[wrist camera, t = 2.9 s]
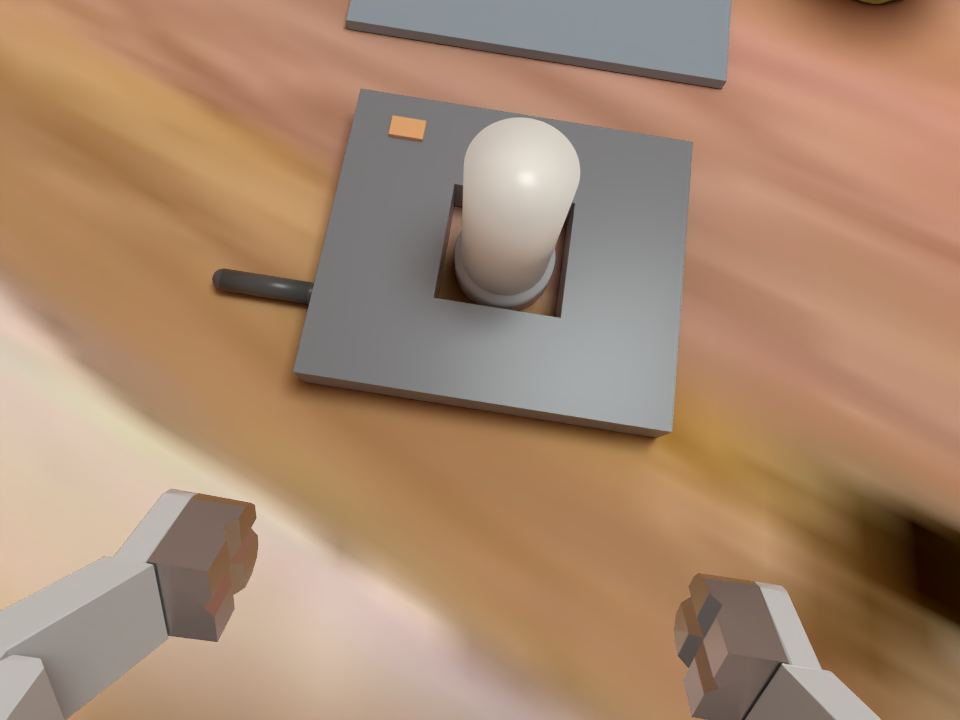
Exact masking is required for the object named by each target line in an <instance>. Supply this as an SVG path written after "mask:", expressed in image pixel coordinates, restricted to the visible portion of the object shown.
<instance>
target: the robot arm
mask: <svg viewBox="0 0 960 720" xmlns="http://www.w3.org/2000/svg"><path fill="white" fill-rule="evenodd" d="M255 520H256V511H255V505H254V504H252V503H248V502H243V501H238V500H232V499H227V498H221V497H216V496H211V495H205V494H200V493H198V494H197V493H192V492H186V491H181V490H175V489H170V490H168V491H166V492H165V493H163V494H162V495H161V496H160V498H159V499H158V500H157V502H156V503H155V504H154V505H153V507H152V508H151V509H150V511H149V512H148V513H147V514H146V516H145V517H144V518H143V520H142V521H141V522H140V523H139V525H138V526H137V527H136V529H135V530H134V531H133V532H132V534H131V535H130V536H129V538H128V539H127V540H126V541H125V543H124V544H123V545H122V547H121V548H120V549H119V550H118V552H117V553H116V554H115V556H114V557H113V558H111V557H103V558H101V559H99V560H97V561H95V562H93V563H91V564H89V565H87V566H86V567H84V568H82V569H80V570H78V571H76V572H74V573H72V574H70V575H68V576H66V577H65V578H63V579H61V580H59V581H57V582H55V583H53V584H51V585H49V586H47V587H45V588H44V589H42V590H40V591H38V592H36V593H34V594H32V595H30V596H28V597H26V598H24V599H23V600H21V601H19V602H17V603H15V604H13V605H11V606H9V607H7V608H5V609H3V610H2V611H0V720H66V719H68V718H69V717H70V716H71V715H73V714H74V713H75V712H76V711H78V710H79V709H80V708H81V707H83V706H84V705H85V704H86V703H88V702H89V701H90V700H92V699H93V698H94V697H95V696H97V695H98V694H99V693H100V692H102V691H103V690H104V689H105V688H107V687H108V686H109V685H110V684H112V683H113V682H114V681H116V680H117V679H118V678H119V677H121V676H122V675H123V674H124V673H126V672H127V671H128V670H129V669H131V668H132V667H133V666H134V665H136V664H137V663H138V662H140V661H141V660H142V659H143V658H145V657H146V656H147V655H148V654H150V653H151V652H152V651H153V650H155V649H156V648H157V647H158V646H160V645H161V644H162V643H163V642H165V641H166V640H167V639H168V636H175V637H183V638H190V639H198V640H206V641H214V642H218V640H219V638H220V636H221V634H222V632H223V630H224V628H225V626H226V624H227V622H228V621H229V619H230V617H231V615H232V613H233V611H234V609H235V608H234V598H233V595H234V594H236V593H237V592H239V591H240V590H242V589H243V588H245V587H246V585H247V583H248V580H249V578H250V576H251V574H252V571H253V568H254V565H255V561H256V558H257V551H258V535H257V534H256V533H255V532H254V531H253V530H252V529H251V527H252V525H253V523H254V521H255ZM689 590H690V593H691V597H690V598H688V599H686V600H685V601H683V602H681V604H680V606H679V609H678V611H677V613H676V618H675V626H674V636H675V645H676V650H677V654H678V656H679V658H680V659H681V660H682V661H683V662H684V663H685V665H686V666H687V667H688V668H689V669H688V671H687V673H686V675H685V677H684V679H683V681H684V686H685V690H686V694H687V698H688V703H689V707H690V711H691V716H692V717H696V718H702V719H707V720H881V719H880V718H879V717H878V716H877V715H876V714H875V713H874V712H873V711H872V710H871V709H870V708H869V707H867V706H866V705H865V704H864V703H863V702H862V701H861V700H860V699H859V698H858V697H857V696H856V695H855V694H854V693H853V692H852V691H851V690H850V689H849V688H848V687H847V686H845V685H844V684H843V683H842V682H841V681H840V680H839V679H838V678H837V677H836V676H835V675H834V674H833V673H832V672H831V671H826V670H822V668H821V666H820V664H819V662H818V660H817V657H816V655H815V653H814V651H813V648H812V646H811V644H810V642H809V639H808V637H807V635H806V633H805V631H804V628H803V626H802V624H801V622H800V619H799V617H798V615H797V613H796V610H795V608H794V606H793V604H792V602H791V599H790V597H789V595H788V593H787V591H786V590H785V589H784V588H783V587H782V586H780V585H774V584H767V583H761V582H751V581H749V580H742V579H735V578H728V577H722V576H715V575H708V574H701V573H698V574H697V575H695V576H694V577H693V579H692V581H691V583H690V585H689Z"/></svg>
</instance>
